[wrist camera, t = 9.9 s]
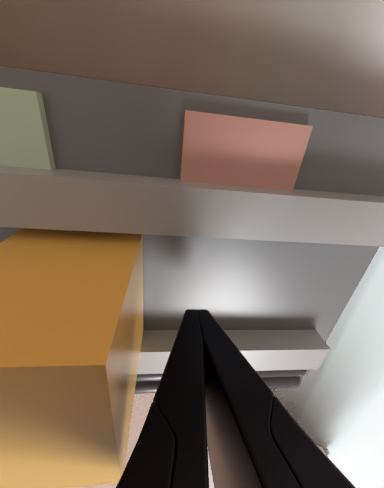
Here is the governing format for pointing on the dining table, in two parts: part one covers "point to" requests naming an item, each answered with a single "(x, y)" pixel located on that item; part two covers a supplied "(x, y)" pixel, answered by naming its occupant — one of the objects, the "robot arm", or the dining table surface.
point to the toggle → (68, 355)
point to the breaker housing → (203, 205)
